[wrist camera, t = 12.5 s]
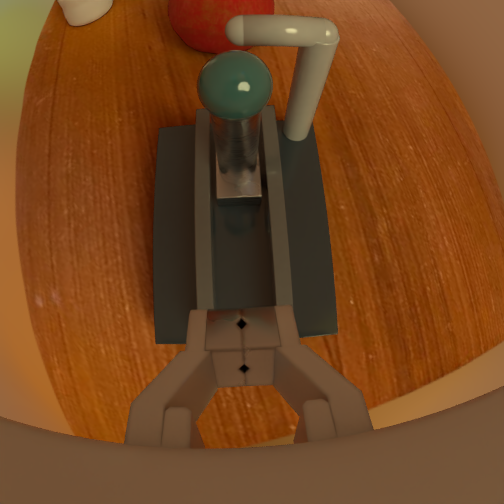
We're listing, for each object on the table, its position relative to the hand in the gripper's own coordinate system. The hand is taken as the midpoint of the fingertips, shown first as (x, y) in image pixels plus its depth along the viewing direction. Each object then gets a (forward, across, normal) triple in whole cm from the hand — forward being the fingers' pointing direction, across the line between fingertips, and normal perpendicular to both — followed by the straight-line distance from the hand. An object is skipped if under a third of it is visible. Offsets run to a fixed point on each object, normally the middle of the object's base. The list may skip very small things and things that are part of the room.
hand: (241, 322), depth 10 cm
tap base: (+14, 0, +5) cm, 15 cm away
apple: (+30, +1, -11) cm, 33 cm away
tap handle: (+14, 0, +1) cm, 14 cm away
